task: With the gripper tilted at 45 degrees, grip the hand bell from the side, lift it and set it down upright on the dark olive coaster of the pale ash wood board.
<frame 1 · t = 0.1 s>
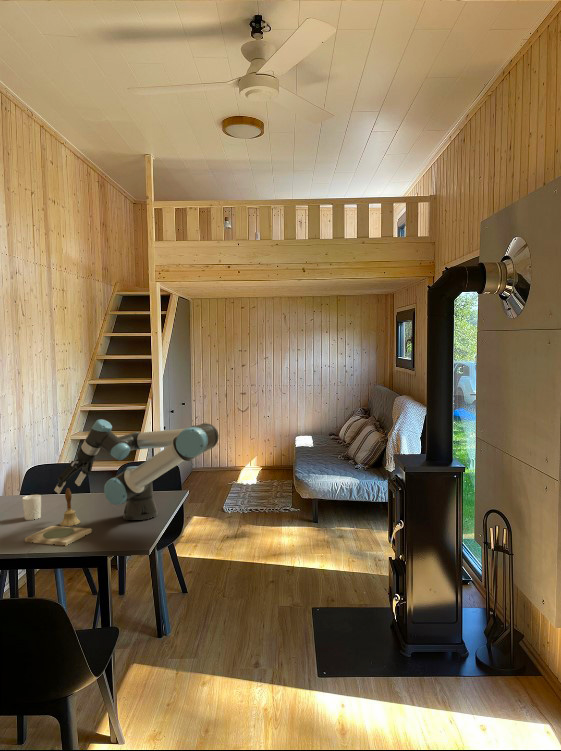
hand: (67, 488, 245), 15 cm above the table, tool tilted 35°, fingers open, 13 cm apart
white cup: (32, 518, 252), on the table
hand bell: (70, 524, 242), on the table
bell board: (58, 536, 225), on the table
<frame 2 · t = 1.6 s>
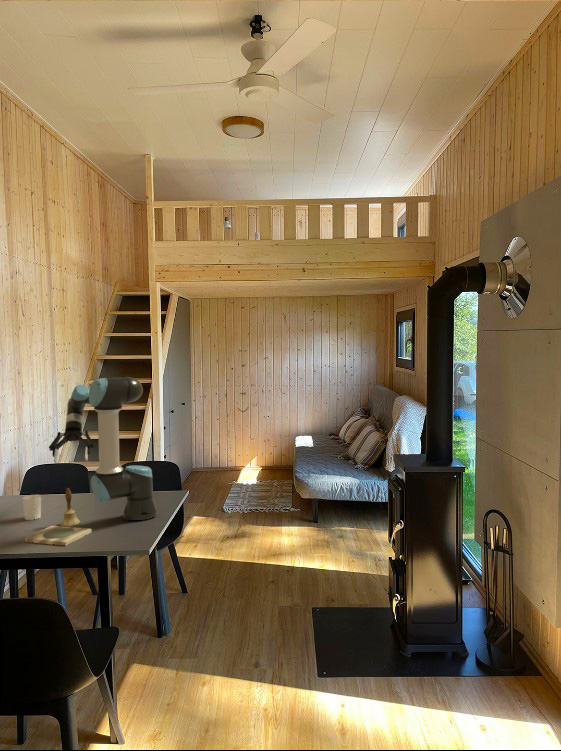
hand: (70, 460, 253), 26 cm above the table, tool tilted 45°, fingers open, 13 cm apart
nothing on the table moved.
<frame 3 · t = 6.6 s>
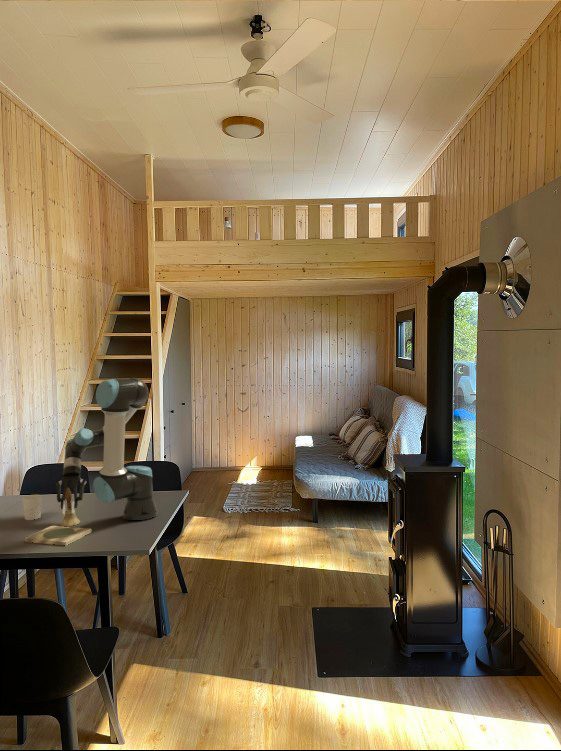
hand: (68, 514, 238), 5 cm above the table, tool tilted 45°, fingers closed on hand bell, 3 cm apart
hand bell: (70, 524, 242), on the table, touching gripper
everything else where it was.
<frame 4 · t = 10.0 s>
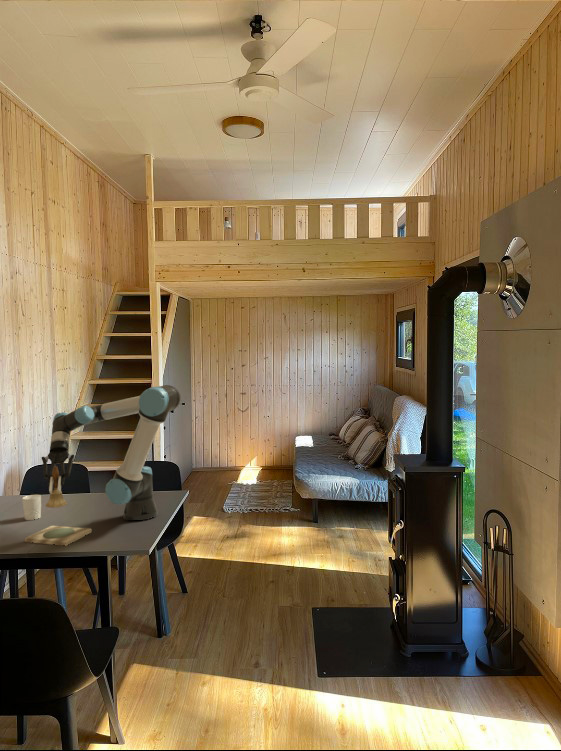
hand: (54, 491, 220), 20 cm above the table, tool tilted 45°, fingers closed on hand bell, 2 cm apart
hand bell: (56, 505, 224), point 13 cm above the table, touching gripper
everything else where it was.
when the fingers open (8 cm above the table, at t = 13.2 s): hand bell stays where it is, resting on bell board.
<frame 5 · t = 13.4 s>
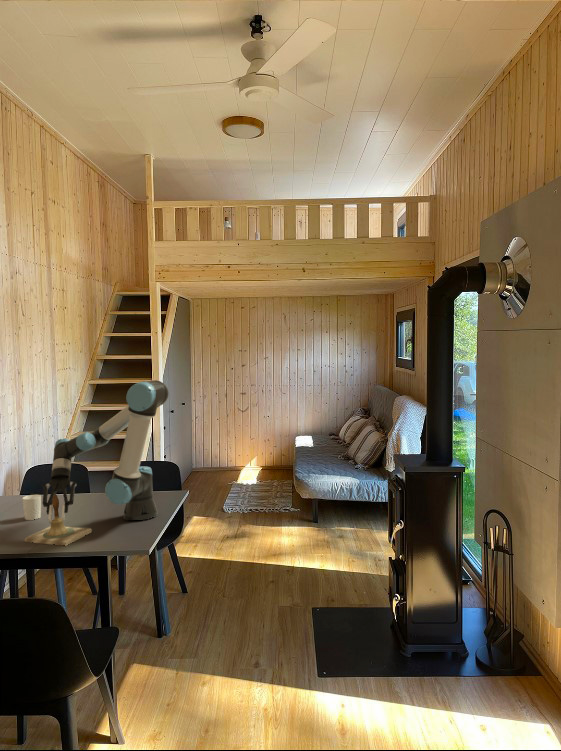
hand: (56, 520, 221), 8 cm above the table, tool tilted 45°, fingers open, 4 cm apart
hand bell: (57, 533, 225), point 2 cm above the table, touching bell board
everything else where it was.
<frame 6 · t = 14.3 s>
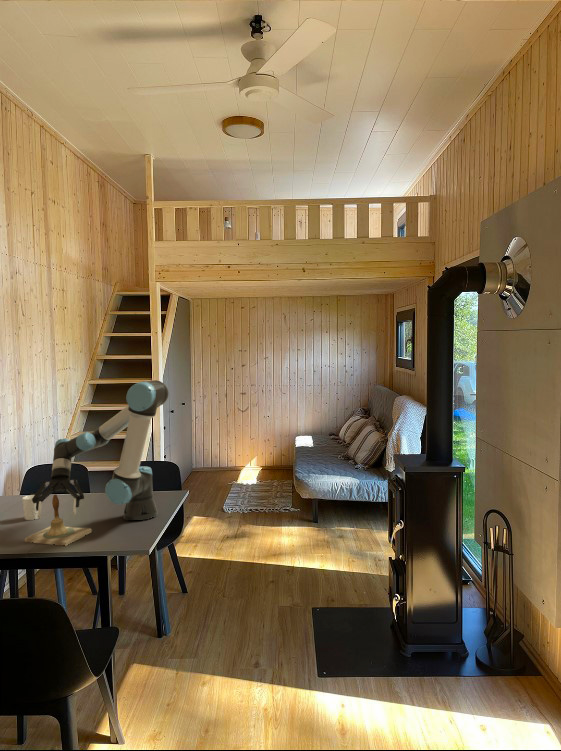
hand: (56, 515, 222), 10 cm above the table, tool tilted 45°, fingers open, 13 cm apart
nothing on the table moved.
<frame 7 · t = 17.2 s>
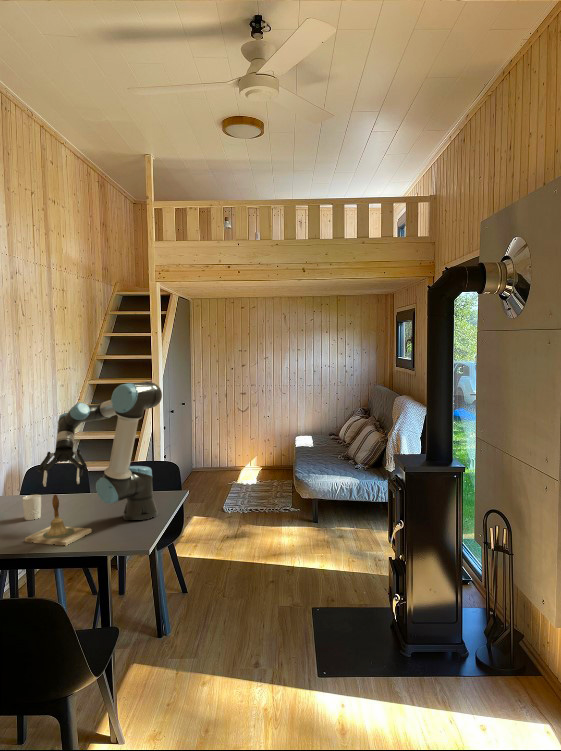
hand: (61, 483, 234), 20 cm above the table, tool tilted 45°, fingers open, 13 cm apart
nothing on the table moved.
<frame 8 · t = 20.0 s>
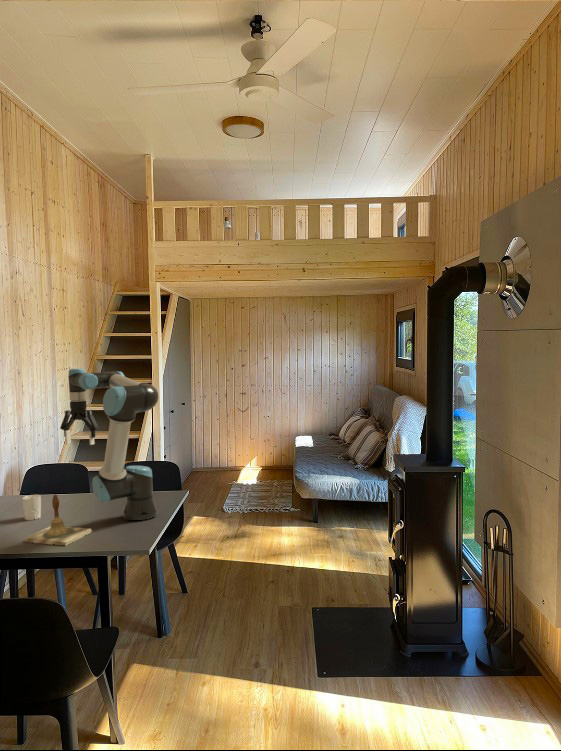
hand: (80, 444, 263), 32 cm above the table, tool pointing down, fingers open, 13 cm apart
nothing on the table moved.
at the end: hand bell inside the target area on the bell board (0.4 cm from its centre), point 1.5 cm above the bell board's base; hand bell tilted 0°; the gripper is holding nothing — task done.
